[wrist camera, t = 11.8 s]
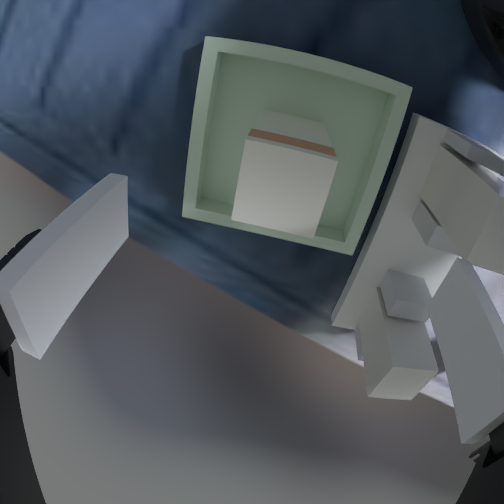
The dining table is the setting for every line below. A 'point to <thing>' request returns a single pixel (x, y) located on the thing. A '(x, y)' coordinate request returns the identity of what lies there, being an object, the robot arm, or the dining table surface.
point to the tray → (297, 104)
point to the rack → (408, 232)
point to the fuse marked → (285, 174)
